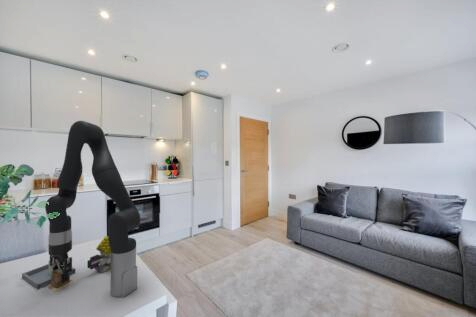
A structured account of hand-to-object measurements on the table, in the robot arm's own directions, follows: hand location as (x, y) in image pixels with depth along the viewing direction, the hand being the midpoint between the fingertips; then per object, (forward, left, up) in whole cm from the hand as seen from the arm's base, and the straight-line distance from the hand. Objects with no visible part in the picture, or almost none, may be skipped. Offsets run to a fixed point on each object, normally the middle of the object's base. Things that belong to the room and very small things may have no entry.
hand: (60, 278), depth 85 cm
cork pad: (0, 0, -3) cm, 3 cm away
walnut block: (0, 0, -2) cm, 2 cm away
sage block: (+12, -3, -2) cm, 13 cm away
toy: (-4, -15, -3) cm, 16 cm away
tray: (+12, 0, -3) cm, 12 cm away
